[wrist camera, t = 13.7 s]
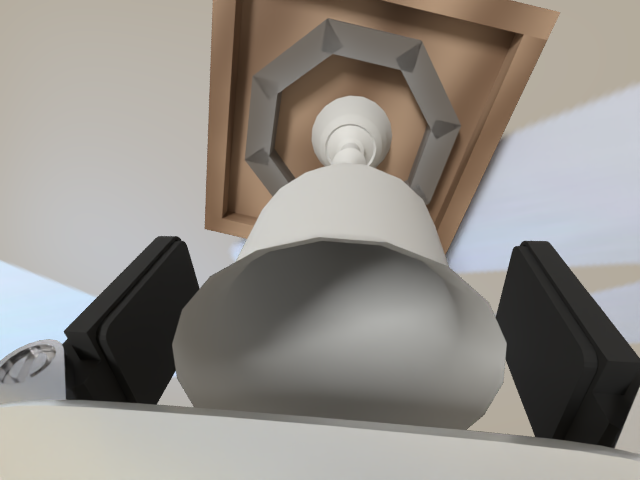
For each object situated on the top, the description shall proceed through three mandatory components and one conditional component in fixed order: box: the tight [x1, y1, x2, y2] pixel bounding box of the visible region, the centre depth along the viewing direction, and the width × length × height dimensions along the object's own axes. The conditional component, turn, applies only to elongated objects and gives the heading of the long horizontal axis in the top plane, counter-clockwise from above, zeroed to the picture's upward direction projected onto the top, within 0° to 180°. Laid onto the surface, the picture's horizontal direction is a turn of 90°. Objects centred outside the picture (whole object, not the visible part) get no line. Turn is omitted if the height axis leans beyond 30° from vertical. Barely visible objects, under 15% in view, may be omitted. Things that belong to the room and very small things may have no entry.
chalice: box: [172, 96, 507, 430], centre depth 15 cm, size 7×7×18 cm
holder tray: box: [205, 0, 560, 255], centre depth 23 cm, size 17×17×2 cm
